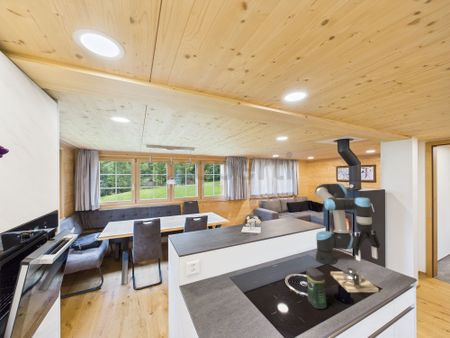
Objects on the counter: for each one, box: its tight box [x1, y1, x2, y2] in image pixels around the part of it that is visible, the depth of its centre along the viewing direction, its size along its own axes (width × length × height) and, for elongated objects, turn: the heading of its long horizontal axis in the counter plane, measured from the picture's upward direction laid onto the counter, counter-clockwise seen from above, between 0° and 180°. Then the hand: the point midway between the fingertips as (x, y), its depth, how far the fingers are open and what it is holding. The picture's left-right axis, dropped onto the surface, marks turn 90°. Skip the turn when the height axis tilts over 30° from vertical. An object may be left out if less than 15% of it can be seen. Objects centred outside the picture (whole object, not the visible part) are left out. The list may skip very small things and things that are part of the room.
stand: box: [330, 271, 380, 293], centre depth 120 cm, size 20×18×2 cm
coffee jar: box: [305, 266, 328, 310], centre depth 102 cm, size 10×8×19 cm
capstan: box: [342, 267, 362, 289], centre depth 116 cm, size 18×10×8 cm, turn 157°
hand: (366, 259), depth 110 cm, fingers open, 11 cm apart
